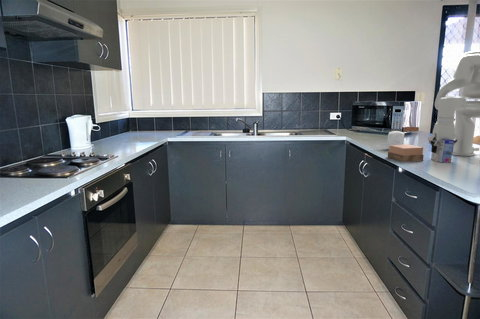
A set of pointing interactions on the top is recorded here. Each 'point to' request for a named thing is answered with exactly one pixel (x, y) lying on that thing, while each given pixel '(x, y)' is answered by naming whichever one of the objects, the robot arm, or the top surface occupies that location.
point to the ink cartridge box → (443, 151)
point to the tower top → (406, 150)
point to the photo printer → (395, 138)
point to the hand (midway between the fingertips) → (441, 152)
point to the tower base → (405, 157)
